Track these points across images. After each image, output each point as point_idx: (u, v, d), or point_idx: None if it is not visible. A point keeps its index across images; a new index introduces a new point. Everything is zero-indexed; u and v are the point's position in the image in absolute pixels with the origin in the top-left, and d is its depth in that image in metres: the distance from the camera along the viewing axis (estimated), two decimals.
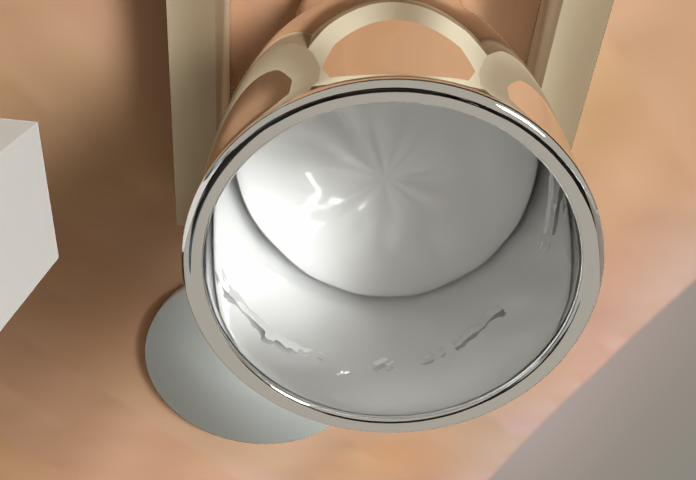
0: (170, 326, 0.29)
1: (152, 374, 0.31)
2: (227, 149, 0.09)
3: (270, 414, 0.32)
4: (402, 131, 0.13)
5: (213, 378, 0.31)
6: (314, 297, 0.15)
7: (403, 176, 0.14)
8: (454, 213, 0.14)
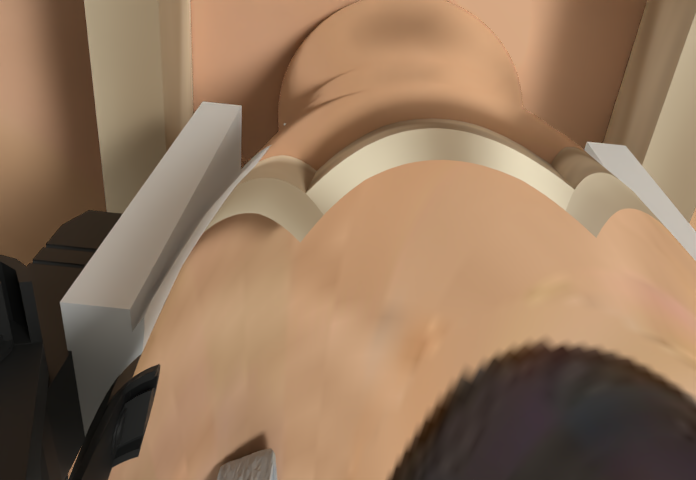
0: None
1: None
2: None
3: None
4: None
5: None
6: None
7: None
8: None
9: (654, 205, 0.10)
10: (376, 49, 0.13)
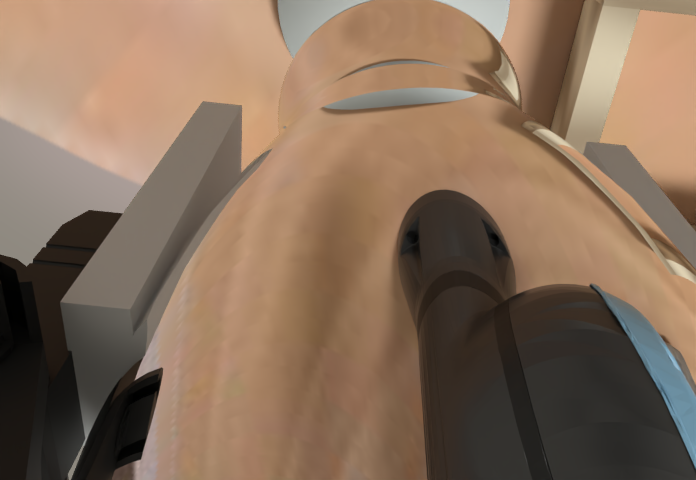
0: None
1: None
2: None
3: (324, 18, 0.29)
4: None
5: None
6: None
7: None
8: None
9: (654, 205, 0.10)
10: (376, 52, 0.13)
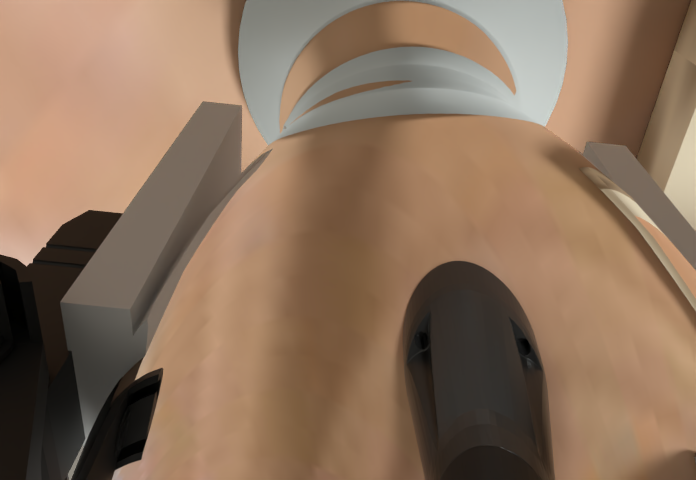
0: None
1: None
2: None
3: None
4: None
5: None
6: None
7: None
8: None
9: (654, 205, 0.10)
10: (376, 53, 0.13)
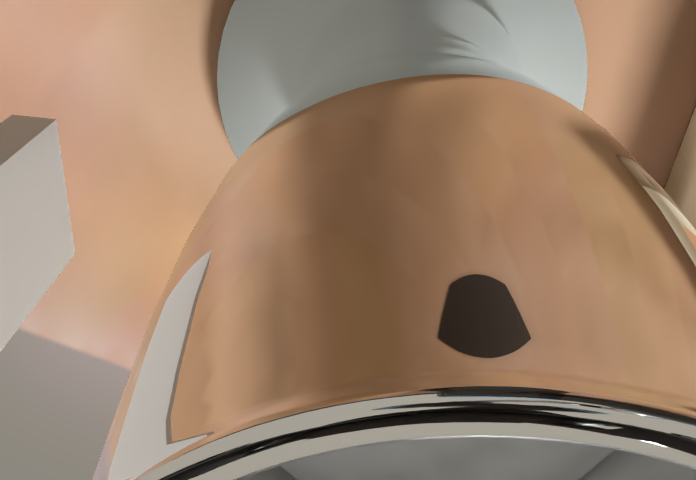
0: None
1: None
2: None
3: None
4: None
5: None
6: None
7: None
8: None
9: None
10: (389, 29, 0.14)
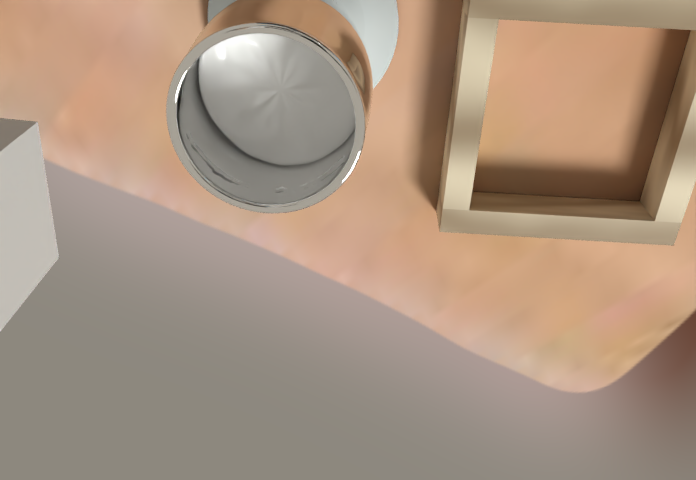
0: None
1: None
2: (184, 58, 0.21)
3: None
4: (286, 62, 0.24)
5: None
6: (248, 164, 0.26)
7: (290, 88, 0.25)
8: (321, 109, 0.25)
9: None
10: None
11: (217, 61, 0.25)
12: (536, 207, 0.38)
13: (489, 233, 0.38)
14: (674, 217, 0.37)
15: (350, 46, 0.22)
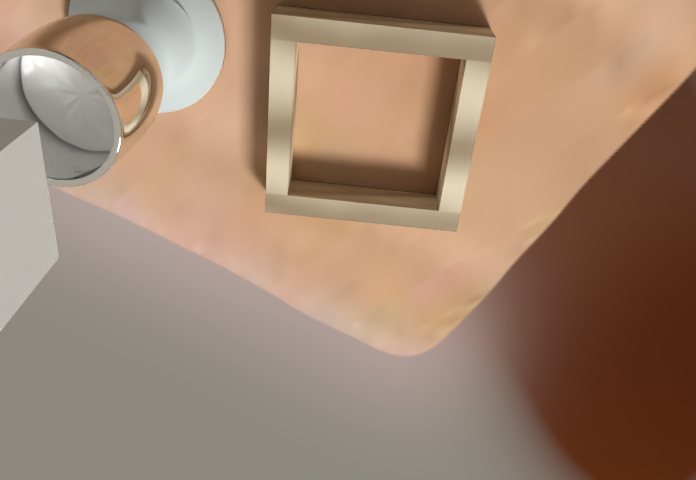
0: None
1: None
2: None
3: None
4: None
5: None
6: (63, 149, 0.34)
7: (89, 92, 0.33)
8: None
9: None
10: (115, 7, 0.38)
11: (33, 70, 0.33)
12: (345, 195, 0.46)
13: (306, 215, 0.46)
14: (454, 208, 0.45)
15: (118, 65, 0.30)
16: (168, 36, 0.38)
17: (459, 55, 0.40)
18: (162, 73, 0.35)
